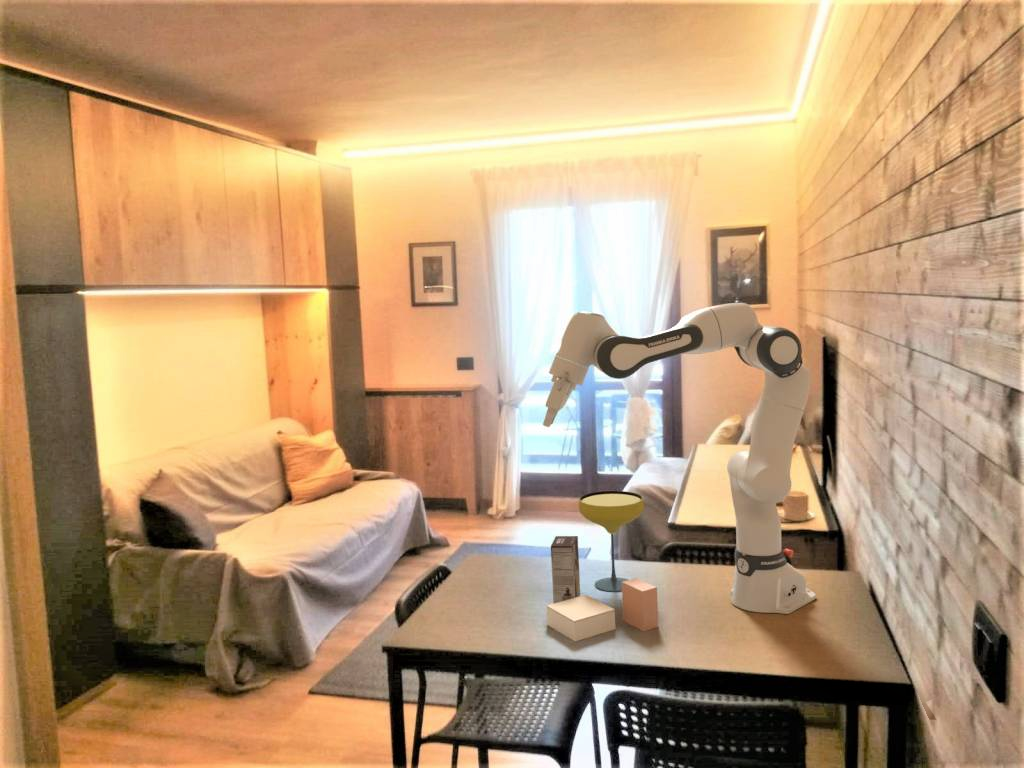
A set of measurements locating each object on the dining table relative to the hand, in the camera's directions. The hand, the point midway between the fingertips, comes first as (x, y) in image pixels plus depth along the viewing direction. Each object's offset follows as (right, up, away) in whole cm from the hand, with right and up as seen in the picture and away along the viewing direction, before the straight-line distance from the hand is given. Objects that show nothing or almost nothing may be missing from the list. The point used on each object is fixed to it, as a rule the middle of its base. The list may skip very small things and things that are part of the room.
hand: (547, 424), depth 192 cm
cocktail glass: (+20, -47, +26) cm, 57 cm away
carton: (+23, -49, -1) cm, 54 cm away
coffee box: (+6, -48, +18) cm, 52 cm away
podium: (+8, -50, -1) cm, 51 cm away
